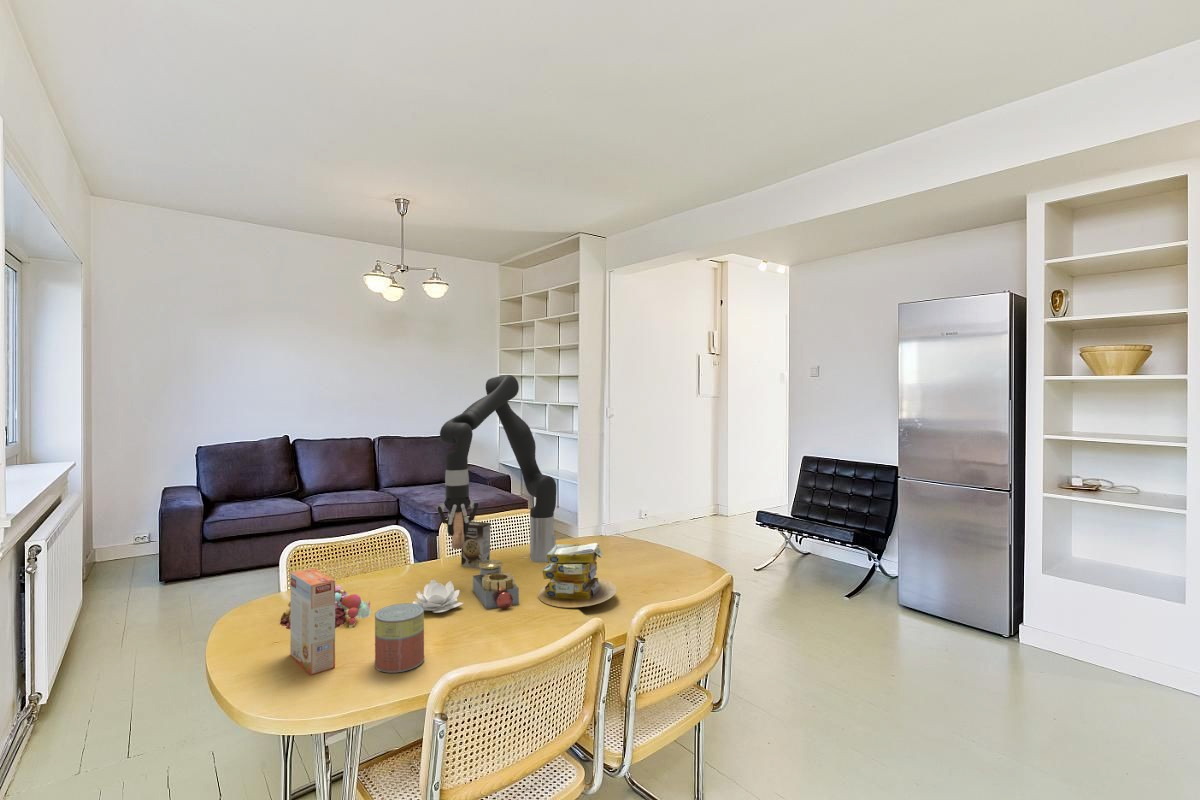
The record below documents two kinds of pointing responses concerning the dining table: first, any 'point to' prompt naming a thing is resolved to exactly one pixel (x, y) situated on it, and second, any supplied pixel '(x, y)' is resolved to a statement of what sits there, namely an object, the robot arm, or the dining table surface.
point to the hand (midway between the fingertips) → (457, 534)
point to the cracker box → (313, 620)
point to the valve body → (495, 586)
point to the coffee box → (476, 545)
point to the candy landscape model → (339, 609)
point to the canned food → (399, 637)
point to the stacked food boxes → (574, 577)
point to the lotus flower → (438, 597)
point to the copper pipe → (458, 531)
